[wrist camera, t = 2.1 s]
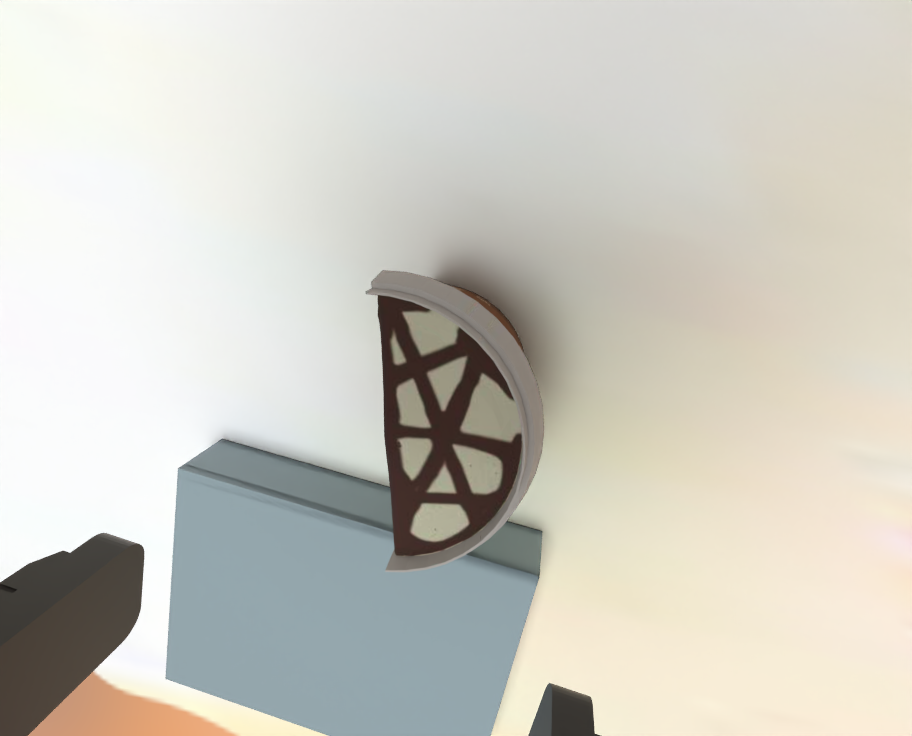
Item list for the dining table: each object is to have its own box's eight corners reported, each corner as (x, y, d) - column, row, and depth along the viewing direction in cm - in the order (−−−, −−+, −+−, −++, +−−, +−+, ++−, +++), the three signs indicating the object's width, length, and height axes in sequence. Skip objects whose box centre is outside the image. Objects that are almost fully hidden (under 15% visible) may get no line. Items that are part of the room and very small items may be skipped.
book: (542, 531, 32) (539, 576, 28) (484, 724, 36) (474, 786, 32) (222, 438, 34) (178, 468, 30) (205, 631, 39) (165, 678, 35)
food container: (547, 479, 31) (539, 598, 21) (438, 472, 32) (385, 583, 22) (551, 252, 27) (545, 275, 18) (430, 254, 29) (364, 276, 19)
